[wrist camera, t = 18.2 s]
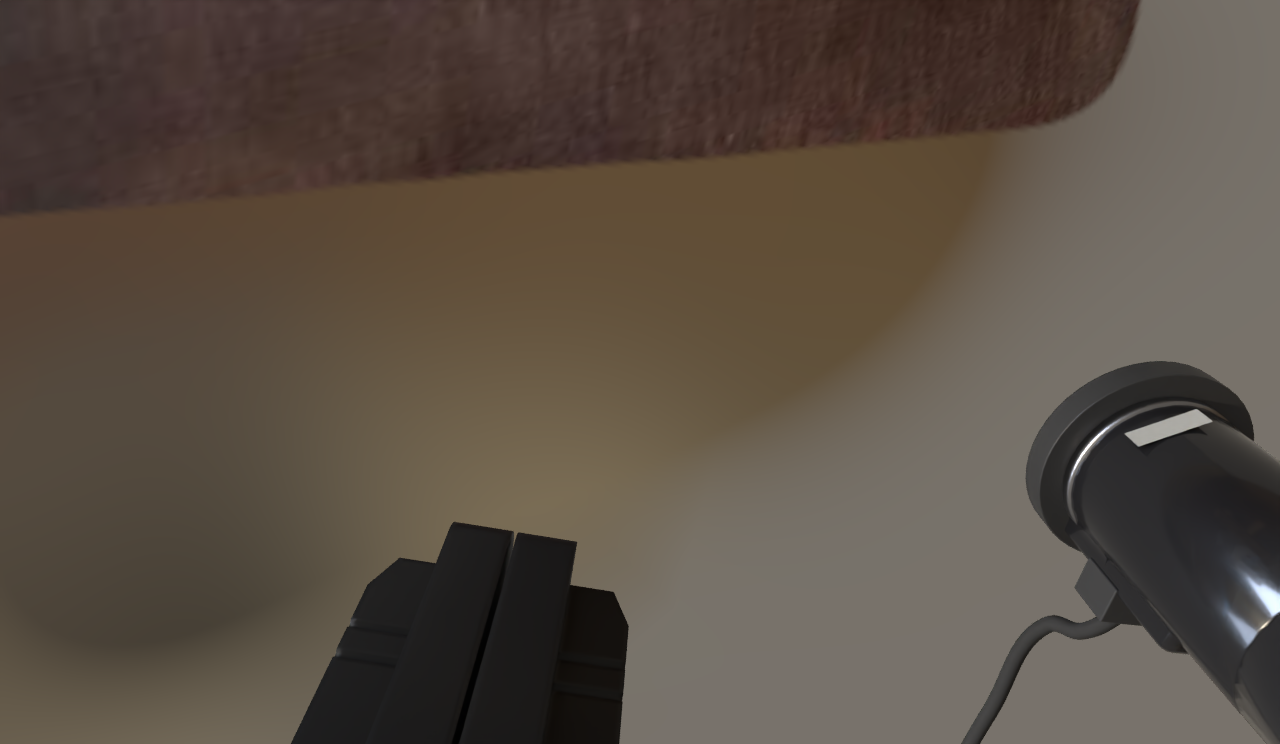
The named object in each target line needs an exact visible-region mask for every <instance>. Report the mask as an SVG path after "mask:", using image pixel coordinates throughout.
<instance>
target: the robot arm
mask: <svg viewBox="0 0 1280 744" xmlns="http://www.w3.org/2000/svg"><path fill="white" fill-rule="evenodd" d="M1062 494H1063V501H1064V505H1065V508H1066V510H1067V512H1068V514H1069V516H1070V517H1069V521H1068V523H1067V525H1066V527H1065V532H1066V533H1067V535H1068V536H1069V537H1070V538H1071V539H1072V541H1073V542H1074V543H1075V544H1076V545H1077V547H1078V548H1079V549H1080V550H1081V552H1082V553H1083V554H1084V555H1085V556H1086V558H1087V559H1088V561H1087V563H1086V565H1085V567H1084V569H1083V571H1082V573H1081V575H1080V577H1079V579H1078V582H1077V584H1076V585H1075V589H1076V591H1077V592H1078V593H1079V594H1080V596H1081V597H1082V598H1083V600H1084V601H1085V602H1086V604H1087V605H1088V606H1089V608H1090V609H1091V610H1092V611H1093V613H1094V614H1095V615H1096V617H1095V618H1093V619H1092V620H1089V621H1086V622H1083V623H1075V622H1072V621H1070V620H1068V619H1065V618H1063V617H1060V616H1055V615H1052V616H1047V617H1044V618H1041V619H1040V620H1038V621H1036V622H1034V623H1033V624H1032V625H1031V626H1029V627H1028V628H1027V629H1026V630H1025V631H1024V632H1023V633H1022V634H1021V635H1020V637H1019V638H1018V639H1017V641H1016V642H1015V644H1014V645H1013V647H1012V648H1011V650H1010V652H1009V654H1008V656H1007V658H1006V660H1005V662H1004V665H1003V667H1002V669H1001V671H1000V674H999V676H998V678H997V680H996V683H995V685H994V687H993V689H992V691H991V693H990V695H989V697H988V699H987V701H986V703H985V704H984V706H983V708H982V709H981V711H980V713H979V714H978V716H977V718H976V719H975V721H974V723H973V724H972V726H971V728H970V730H969V731H968V733H967V735H966V736H965V738H964V740H963V742H962V743H961V744H980V743H981V741H982V739H983V738H984V736H985V734H986V733H987V731H988V729H989V728H990V726H991V724H992V723H993V721H994V720H995V718H996V717H997V715H998V713H999V711H1000V710H1001V708H1002V706H1003V704H1004V702H1005V700H1006V698H1007V696H1008V694H1009V692H1010V689H1011V687H1012V685H1013V683H1014V681H1015V678H1016V676H1017V674H1018V672H1019V670H1020V667H1021V665H1022V663H1023V662H1024V660H1025V658H1026V656H1027V655H1028V653H1029V651H1030V650H1031V649H1032V648H1033V646H1034V645H1035V644H1036V643H1037V642H1038V641H1039V640H1040V639H1042V638H1043V637H1044V636H1046V635H1048V634H1049V633H1051V632H1053V631H1055V632H1058V633H1061V634H1063V635H1065V636H1067V637H1070V638H1073V639H1078V640H1081V639H1088V638H1093V637H1096V636H1099V635H1102V634H1104V633H1106V632H1108V631H1110V630H1112V629H1113V628H1115V627H1116V626H1118V625H1120V624H1129V625H1140V626H1143V627H1144V628H1145V630H1146V631H1147V632H1148V633H1149V634H1150V636H1151V637H1152V638H1153V639H1154V640H1155V642H1156V643H1157V644H1158V645H1159V646H1160V647H1161V648H1162V649H1164V650H1165V651H1168V652H1171V653H1179V654H1189V655H1190V656H1191V657H1192V658H1193V659H1194V660H1195V662H1196V663H1197V664H1198V665H1199V666H1200V667H1201V669H1202V670H1203V671H1204V672H1205V673H1206V674H1207V676H1208V677H1209V678H1210V679H1211V680H1212V681H1213V683H1214V684H1215V685H1216V686H1217V687H1218V688H1219V689H1220V691H1221V692H1222V693H1223V694H1224V695H1225V696H1226V697H1227V699H1228V700H1229V701H1230V702H1231V704H1232V705H1233V706H1234V707H1235V708H1236V709H1237V710H1238V712H1239V713H1240V714H1241V715H1242V716H1243V717H1244V718H1245V719H1246V721H1247V722H1248V723H1249V724H1250V725H1251V726H1252V728H1253V729H1254V730H1255V731H1256V732H1257V734H1258V735H1259V736H1260V737H1261V738H1262V739H1263V741H1264V742H1265V743H1266V744H1280V461H1278V460H1277V459H1276V458H1275V457H1273V456H1272V455H1271V454H1269V453H1268V452H1267V451H1265V450H1264V449H1263V448H1262V447H1260V446H1259V445H1258V444H1256V443H1255V442H1254V441H1252V440H1251V439H1250V438H1248V437H1247V436H1246V435H1244V434H1243V433H1242V432H1241V431H1240V430H1239V429H1238V428H1236V427H1235V426H1234V425H1232V424H1231V423H1230V422H1229V421H1228V420H1227V419H1226V418H1225V417H1223V416H1222V415H1221V414H1219V413H1218V412H1217V411H1215V410H1214V409H1213V408H1211V407H1210V406H1208V405H1206V404H1204V403H1202V402H1200V401H1197V400H1194V399H1190V398H1184V397H1160V398H1154V399H1149V400H1145V401H1142V402H1139V403H1136V404H1133V405H1131V406H1128V407H1126V408H1124V409H1122V410H1120V411H1118V412H1116V413H1115V414H1113V415H1111V416H1110V417H1108V418H1107V419H1105V420H1104V421H1103V422H1101V423H1100V424H1099V425H1098V426H1096V427H1095V428H1094V429H1093V430H1092V431H1091V432H1090V433H1089V434H1088V435H1087V436H1086V437H1085V438H1084V439H1083V441H1082V442H1081V443H1080V444H1079V446H1078V447H1077V449H1076V450H1075V452H1074V453H1073V455H1072V457H1071V459H1070V461H1069V463H1068V465H1067V468H1066V471H1065V474H1064V479H1063V486H1062ZM513 541H514V532H513V531H508V530H502V529H496V528H490V527H483V526H476V525H471V524H465V523H457V522H453V523H452V525H451V527H450V529H449V531H448V534H447V536H446V539H445V542H444V544H443V547H442V549H441V552H440V554H439V557H438V560H437V562H436V563H430V562H423V561H417V560H410V559H405V558H399V559H398V560H397V561H395V562H394V563H393V564H392V565H391V566H389V567H388V568H387V569H386V570H385V571H384V572H383V573H381V574H380V575H379V576H377V577H376V578H375V579H374V580H373V581H371V582H370V583H369V584H368V585H367V587H366V589H365V591H364V593H363V596H362V598H361V600H360V602H359V604H358V606H357V608H356V610H355V612H354V614H353V616H352V618H351V623H350V626H349V627H347V629H346V631H345V633H344V635H343V637H342V639H341V641H340V643H339V645H338V647H337V650H336V655H335V657H333V658H332V660H331V662H330V664H329V666H328V668H327V670H326V672H325V674H324V676H323V678H322V680H321V682H320V684H319V687H318V689H317V691H316V693H315V695H314V697H313V699H312V701H311V703H310V705H309V707H308V710H307V711H306V714H305V716H304V718H303V720H302V722H301V724H300V726H299V728H298V730H297V732H296V734H295V736H294V738H293V741H292V743H291V744H619V739H620V727H621V714H622V697H623V689H624V677H625V663H626V651H627V639H628V627H629V626H628V624H627V621H626V619H625V617H624V615H623V613H622V610H621V608H620V606H619V603H618V601H617V599H616V596H615V594H614V592H610V591H604V590H598V589H592V588H586V587H579V586H573V585H570V582H571V576H572V571H573V564H574V558H575V552H576V546H577V542H575V541H569V540H563V539H557V538H550V537H544V536H538V535H531V534H525V533H518V534H517V537H516V540H515V544H514V547H513Z"/></svg>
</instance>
